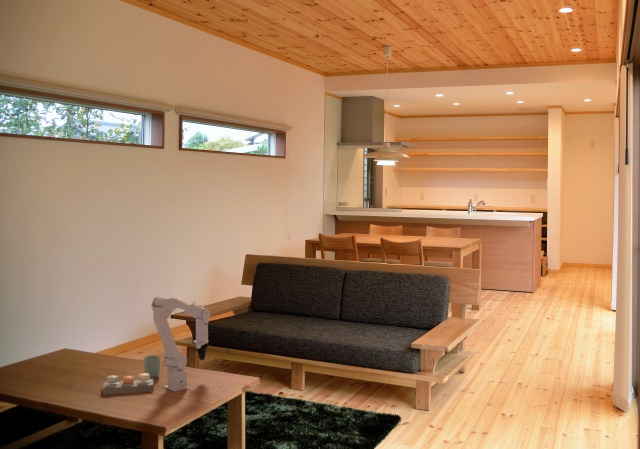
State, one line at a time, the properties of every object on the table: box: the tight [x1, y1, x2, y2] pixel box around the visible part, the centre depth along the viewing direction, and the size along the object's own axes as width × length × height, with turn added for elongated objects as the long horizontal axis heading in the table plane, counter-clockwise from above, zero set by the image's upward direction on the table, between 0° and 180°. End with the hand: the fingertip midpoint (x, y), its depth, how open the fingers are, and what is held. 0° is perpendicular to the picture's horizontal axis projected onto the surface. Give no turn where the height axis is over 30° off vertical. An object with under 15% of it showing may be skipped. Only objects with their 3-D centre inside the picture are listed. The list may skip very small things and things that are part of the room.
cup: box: [143, 354, 162, 379], centre depth 332 cm, size 8×8×10 cm
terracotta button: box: [122, 375, 135, 384], centre depth 312 cm, size 5×5×2 cm
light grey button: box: [106, 374, 119, 384], centre depth 310 cm, size 5×5×2 cm
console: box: [102, 378, 154, 396], centre depth 312 cm, size 22×10×3 cm, turn 105°
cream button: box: [138, 372, 151, 381], centre depth 313 cm, size 5×5×2 cm
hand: (202, 359), depth 330 cm, fingers closed
